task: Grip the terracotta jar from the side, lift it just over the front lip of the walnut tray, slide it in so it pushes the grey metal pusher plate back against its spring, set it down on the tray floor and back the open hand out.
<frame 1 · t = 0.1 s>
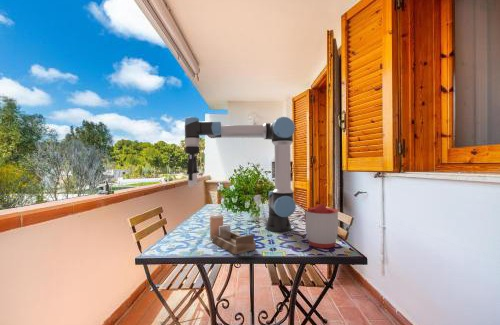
hand: (192, 185, 137), 28 cm above the table, tool pointing down, fingers open, 13 cm apart
pusher: (224, 232, 129), point 5 cm above the table, slide at 0.0 cm
jar: (216, 237, 137), on the table
tray: (233, 245, 123), on the table
citrus juicer: (319, 245, 123), on the table
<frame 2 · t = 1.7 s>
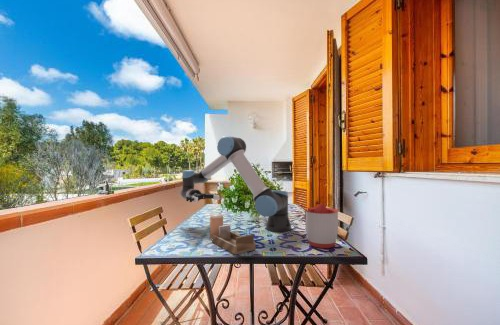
hand: (208, 199, 145), 20 cm above the table, tool horizontal, fingers open, 13 cm apart
nothing on the table moved.
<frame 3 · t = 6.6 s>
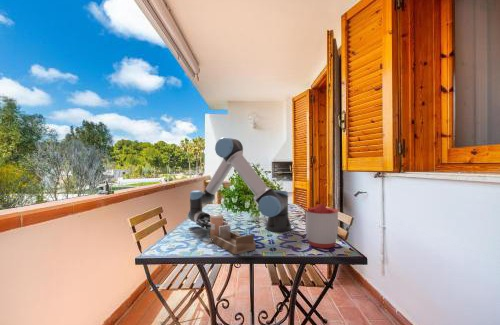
hand: (221, 226, 133), 7 cm above the table, tool horizontal, fingers closed on jar, 7 cm apart
jar: (216, 237, 137), on the table, touching gripper
everything else where it was.
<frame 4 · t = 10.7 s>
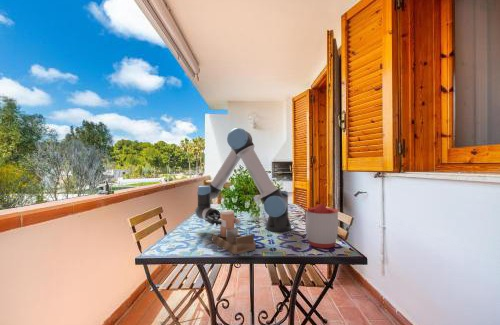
hand: (232, 223, 123), 11 cm above the table, tool horizontal, fingers closed on jar, 7 cm apart
pusher: (231, 235, 123), point 5 cm above the table, slide at 7.1 cm, touching jar
jar: (227, 235, 127), point 4 cm above the table, touching gripper, pusher
everything else where it was.
when the fingers open (9 cm above the table, at t = 11.6 s): jar moves 1 cm, resting on tray, pusher.
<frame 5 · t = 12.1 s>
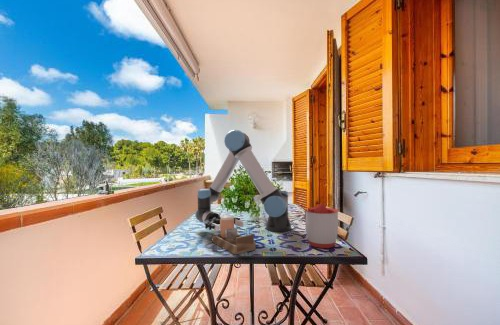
hand: (231, 226, 124), 9 cm above the table, tool horizontal, fingers open, 13 cm apart
pusher: (231, 235, 124), point 5 cm above the table, slide at 6.7 cm, touching jar
jar: (227, 240, 127), point 1 cm above the table, touching tray, pusher
everything else where it was.
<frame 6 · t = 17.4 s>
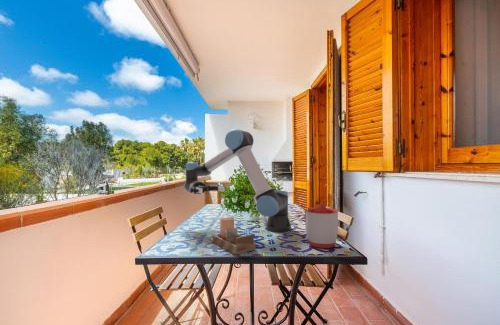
hand: (213, 190, 140), 25 cm above the table, tool horizontal, fingers open, 13 cm apart
nothing on the table moved.
at the end: jar inside the target area on the tray (0.5 cm from its centre), point 1.0 cm above the tray's base; jar tilted 0°; pusher slide at 6.7 cm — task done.
